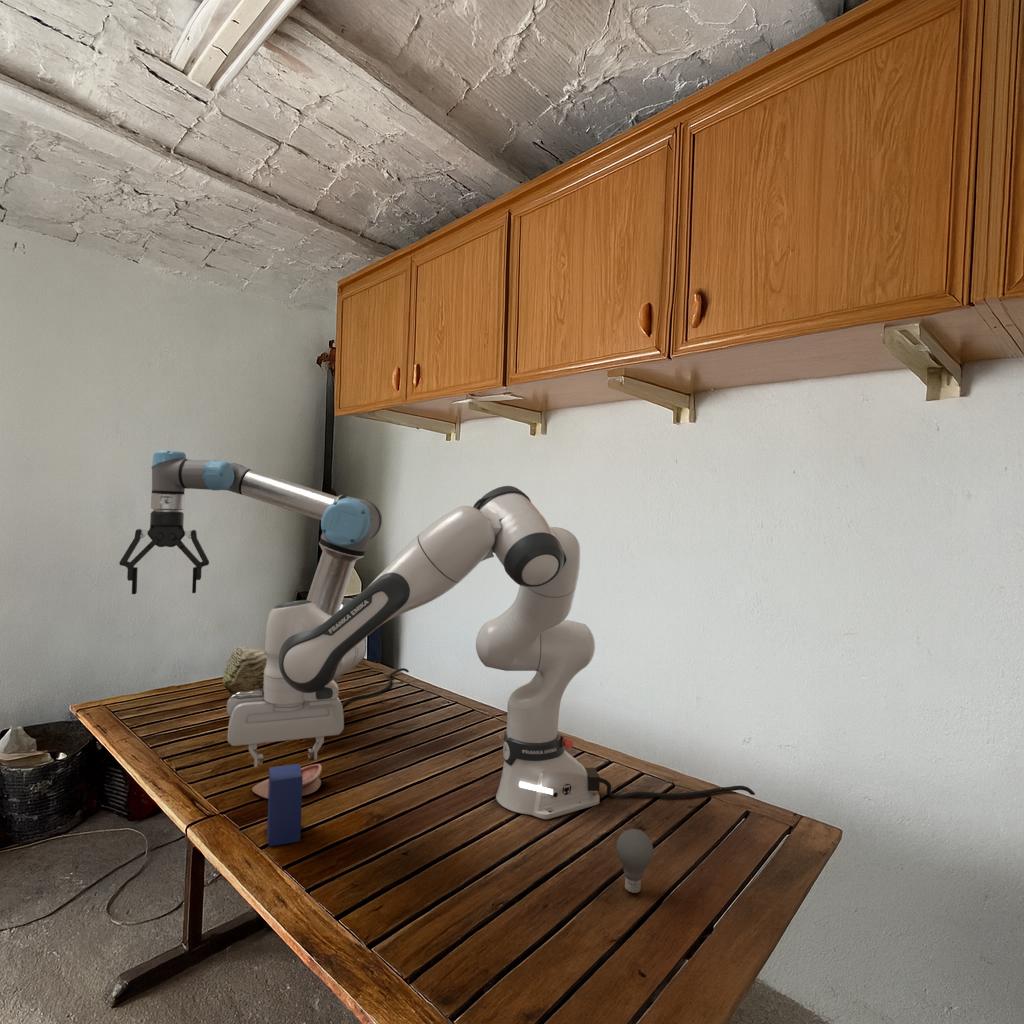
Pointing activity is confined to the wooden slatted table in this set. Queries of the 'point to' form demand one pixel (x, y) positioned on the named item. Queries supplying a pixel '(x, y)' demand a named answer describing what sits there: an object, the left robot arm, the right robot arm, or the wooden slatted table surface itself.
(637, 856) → the light bulb
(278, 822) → the block
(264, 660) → the fossil
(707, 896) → the wooden slatted table surface
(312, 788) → the anatomical model
